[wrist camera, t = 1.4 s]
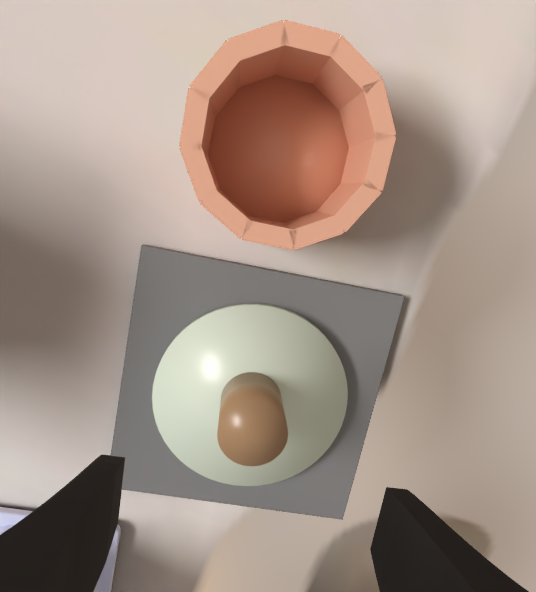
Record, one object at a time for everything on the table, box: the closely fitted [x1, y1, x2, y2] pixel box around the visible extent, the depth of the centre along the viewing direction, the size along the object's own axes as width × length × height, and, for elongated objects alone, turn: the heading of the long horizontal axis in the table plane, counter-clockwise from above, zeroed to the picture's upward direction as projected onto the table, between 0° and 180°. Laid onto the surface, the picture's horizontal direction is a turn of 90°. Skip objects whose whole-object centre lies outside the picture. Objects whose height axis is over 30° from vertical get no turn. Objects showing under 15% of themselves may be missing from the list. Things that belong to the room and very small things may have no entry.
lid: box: [152, 303, 348, 486], centre depth 19 cm, size 9×9×4 cm
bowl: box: [179, 20, 396, 250], centre depth 17 cm, size 7×7×4 cm
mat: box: [111, 245, 404, 519], centre depth 21 cm, size 12×12×1 cm
